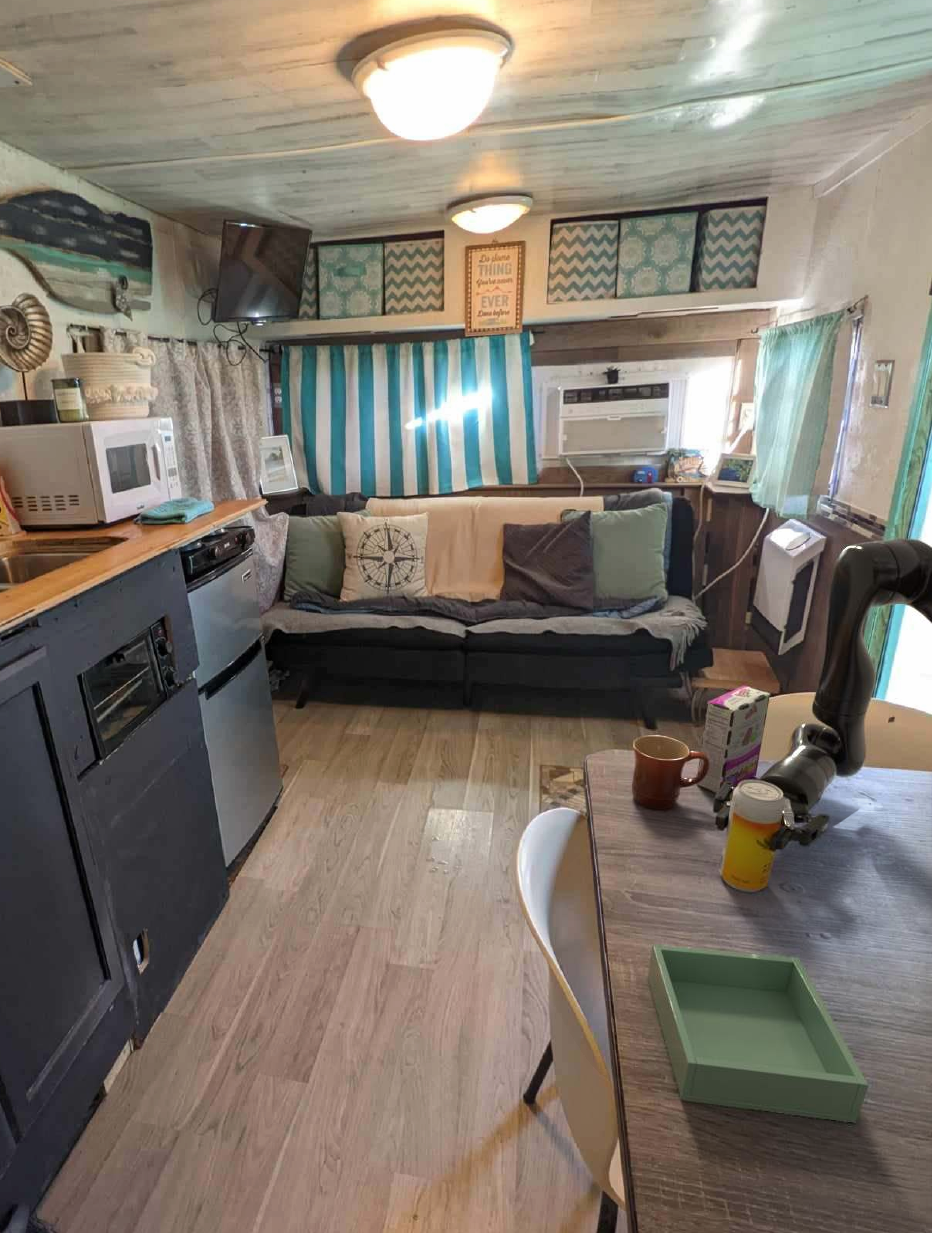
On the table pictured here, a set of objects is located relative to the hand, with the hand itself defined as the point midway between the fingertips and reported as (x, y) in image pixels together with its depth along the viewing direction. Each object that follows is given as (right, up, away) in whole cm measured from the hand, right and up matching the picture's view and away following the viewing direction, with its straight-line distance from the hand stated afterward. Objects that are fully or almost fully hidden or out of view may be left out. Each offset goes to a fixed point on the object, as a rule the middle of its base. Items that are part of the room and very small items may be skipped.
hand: (746, 834), depth 93 cm
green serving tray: (-12, -18, -19) cm, 29 cm away
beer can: (+2, -8, +5) cm, 10 cm away
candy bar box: (+13, +2, +29) cm, 32 cm away
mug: (0, 0, +24) cm, 24 cm away
